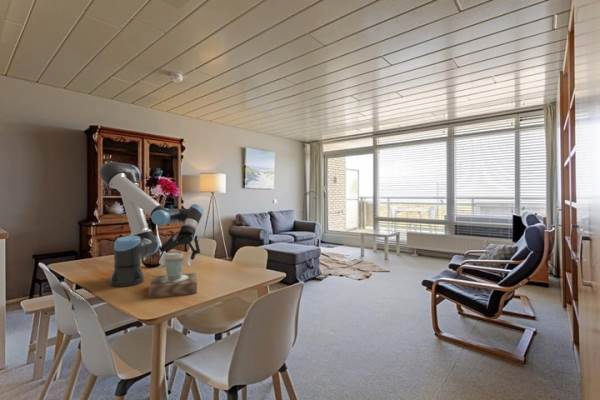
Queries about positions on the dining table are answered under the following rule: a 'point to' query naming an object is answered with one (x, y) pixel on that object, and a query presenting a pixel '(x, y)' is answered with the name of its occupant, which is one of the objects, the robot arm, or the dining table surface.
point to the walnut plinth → (172, 285)
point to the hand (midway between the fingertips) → (174, 264)
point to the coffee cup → (174, 265)
